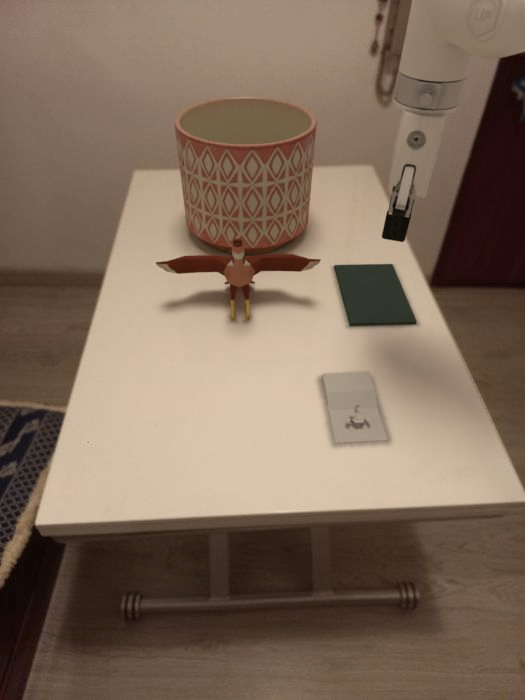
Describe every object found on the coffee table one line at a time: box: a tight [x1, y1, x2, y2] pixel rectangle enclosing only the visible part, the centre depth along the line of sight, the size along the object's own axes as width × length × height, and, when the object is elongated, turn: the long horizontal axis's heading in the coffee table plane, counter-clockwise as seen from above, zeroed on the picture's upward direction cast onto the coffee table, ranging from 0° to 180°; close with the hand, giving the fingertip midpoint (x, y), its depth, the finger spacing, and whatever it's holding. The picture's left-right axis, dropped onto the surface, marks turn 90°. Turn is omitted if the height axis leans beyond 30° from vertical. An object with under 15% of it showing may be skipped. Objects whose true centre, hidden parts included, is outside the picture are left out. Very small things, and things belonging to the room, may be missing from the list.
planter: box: [174, 95, 317, 255], centre depth 97 cm, size 27×27×24 cm
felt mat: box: [333, 263, 418, 327], centre depth 89 cm, size 12×18×1 cm, turn 3°
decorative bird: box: [155, 239, 322, 320], centre depth 81 cm, size 28×18×15 cm, turn 92°
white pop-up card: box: [321, 370, 388, 444], centre depth 68 cm, size 7×12×2 cm, turn 4°
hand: (395, 230), depth 66 cm, fingers open, 3 cm apart
